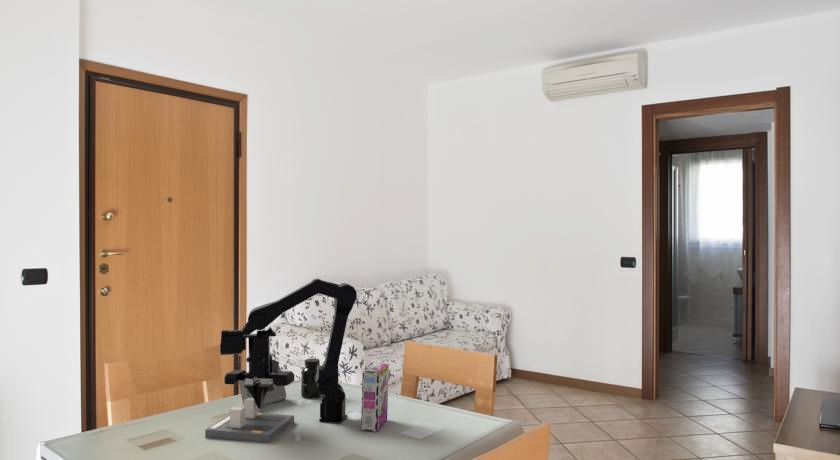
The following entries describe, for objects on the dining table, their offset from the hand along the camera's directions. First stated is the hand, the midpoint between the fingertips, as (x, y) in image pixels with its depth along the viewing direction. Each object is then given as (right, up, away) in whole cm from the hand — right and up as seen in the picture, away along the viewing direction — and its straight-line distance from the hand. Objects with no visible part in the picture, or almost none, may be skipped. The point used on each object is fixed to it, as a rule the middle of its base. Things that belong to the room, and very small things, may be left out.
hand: (259, 408), depth 159 cm
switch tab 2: (-3, -3, +1) cm, 4 cm away
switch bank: (-1, -5, -4) cm, 6 cm away
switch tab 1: (-4, -2, -7) cm, 9 cm away
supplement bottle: (+9, -5, +29) cm, 31 cm away
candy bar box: (+32, -5, +1) cm, 33 cm away
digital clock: (-5, -5, +20) cm, 21 cm away
